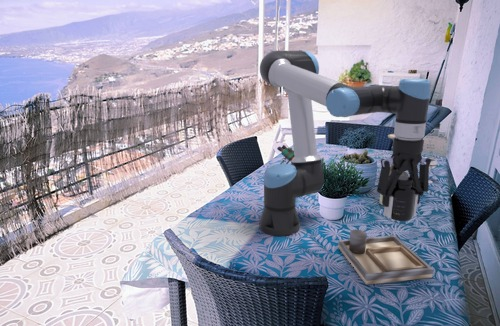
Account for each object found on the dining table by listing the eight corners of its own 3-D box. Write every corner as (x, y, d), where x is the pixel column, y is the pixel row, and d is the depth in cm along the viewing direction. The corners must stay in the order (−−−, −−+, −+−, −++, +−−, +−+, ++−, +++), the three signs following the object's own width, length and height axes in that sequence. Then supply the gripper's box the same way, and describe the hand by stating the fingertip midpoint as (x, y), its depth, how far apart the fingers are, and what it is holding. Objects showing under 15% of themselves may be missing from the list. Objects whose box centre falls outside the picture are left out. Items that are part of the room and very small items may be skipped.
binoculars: (283, 180, 188) (296, 159, 180) (265, 164, 192) (277, 144, 184) (294, 173, 199) (307, 153, 191) (276, 158, 203) (288, 139, 196)
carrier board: (366, 284, 93) (368, 261, 91) (338, 247, 112) (339, 227, 110) (432, 277, 95) (435, 255, 93) (394, 242, 114) (396, 223, 112)
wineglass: (431, 179, 175) (434, 157, 172) (437, 183, 168) (440, 160, 165) (417, 179, 176) (420, 157, 172) (422, 183, 169) (426, 160, 166)
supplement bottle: (390, 209, 102) (395, 172, 98) (414, 216, 97) (420, 177, 94) (383, 217, 96) (387, 178, 93) (408, 224, 92) (413, 183, 89)
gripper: (381, 142, 85) (373, 223, 92) (451, 138, 88) (439, 218, 94) (367, 136, 93) (361, 212, 99) (433, 133, 95) (422, 207, 102)
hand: (399, 215), depth 97 cm, fingers closed on supplement bottle, 7 cm apart
